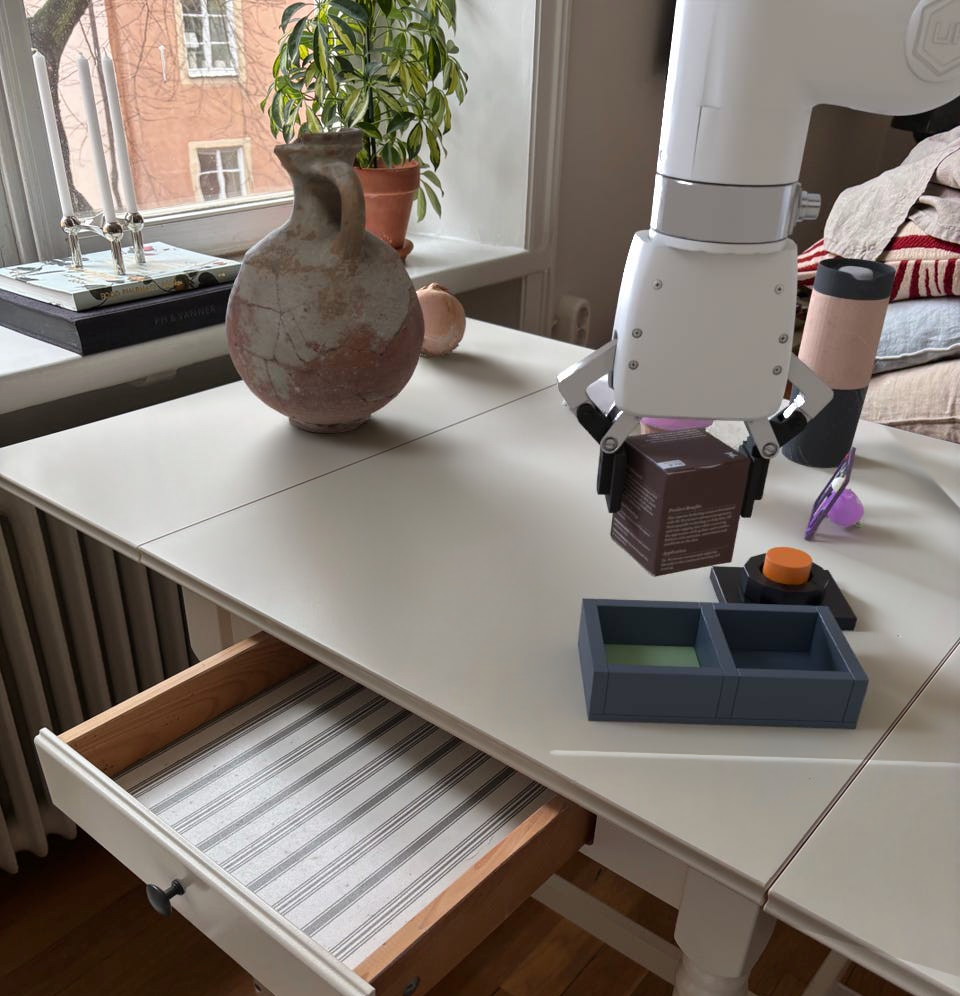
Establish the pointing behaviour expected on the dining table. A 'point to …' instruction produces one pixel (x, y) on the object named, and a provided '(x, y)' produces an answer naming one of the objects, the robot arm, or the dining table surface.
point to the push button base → (781, 589)
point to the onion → (441, 320)
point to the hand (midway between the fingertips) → (676, 505)
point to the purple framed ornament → (837, 499)
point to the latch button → (787, 565)
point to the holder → (718, 664)
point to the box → (680, 500)
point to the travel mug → (840, 353)
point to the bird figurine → (600, 394)
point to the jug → (324, 299)
